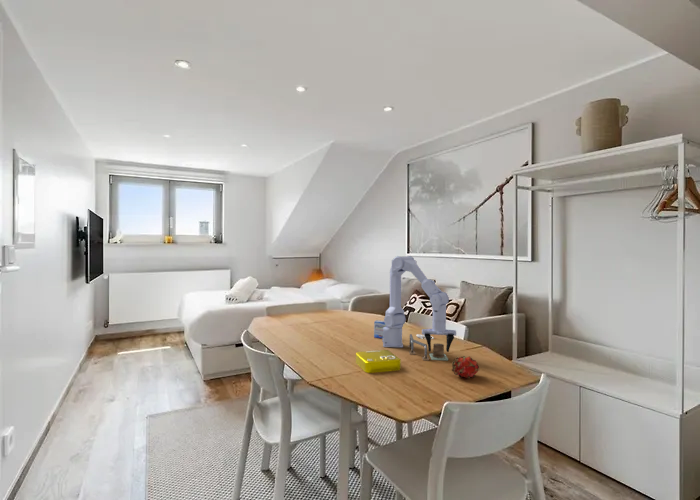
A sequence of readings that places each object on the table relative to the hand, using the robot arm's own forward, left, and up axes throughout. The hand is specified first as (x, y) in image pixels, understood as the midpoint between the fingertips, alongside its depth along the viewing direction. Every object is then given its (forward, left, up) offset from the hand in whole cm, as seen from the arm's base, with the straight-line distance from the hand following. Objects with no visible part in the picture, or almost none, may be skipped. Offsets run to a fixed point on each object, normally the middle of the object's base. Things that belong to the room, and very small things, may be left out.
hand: (438, 351), depth 162 cm
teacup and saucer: (-3, +37, -3) cm, 38 cm away
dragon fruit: (+7, -23, -3) cm, 24 cm away
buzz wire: (-9, +5, -3) cm, 10 cm away
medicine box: (-24, +32, -3) cm, 40 cm away
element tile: (-26, -14, -3) cm, 30 cm away
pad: (0, 0, -3) cm, 3 cm away
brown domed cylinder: (0, 0, -2) cm, 2 cm away
